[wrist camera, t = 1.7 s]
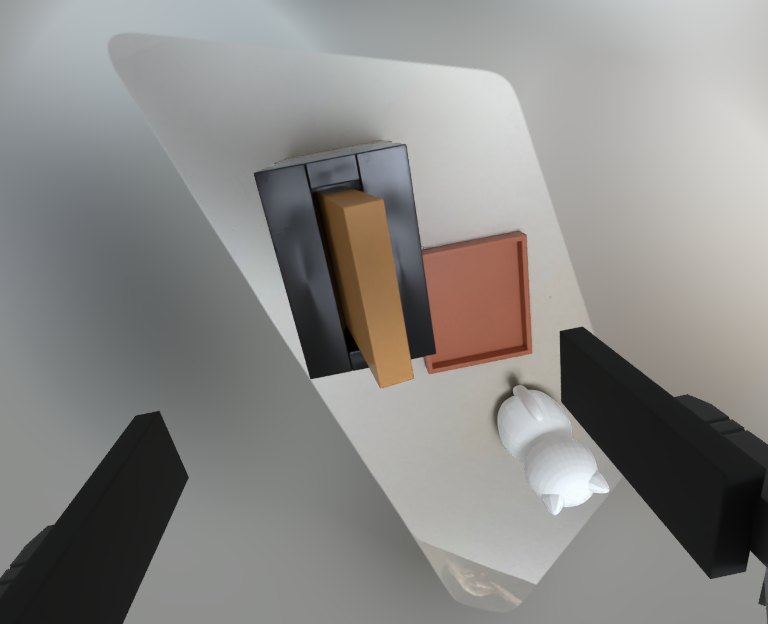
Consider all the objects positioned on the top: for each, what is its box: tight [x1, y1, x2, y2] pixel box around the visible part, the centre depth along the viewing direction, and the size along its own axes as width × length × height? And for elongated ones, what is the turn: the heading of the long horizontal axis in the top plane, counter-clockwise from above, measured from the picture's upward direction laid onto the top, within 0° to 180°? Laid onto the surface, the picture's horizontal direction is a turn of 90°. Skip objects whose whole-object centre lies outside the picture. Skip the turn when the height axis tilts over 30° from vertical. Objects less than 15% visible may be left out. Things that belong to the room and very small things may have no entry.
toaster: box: [254, 140, 436, 379], centre depth 38 cm, size 16×10×22 cm, turn 10°
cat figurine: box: [497, 385, 609, 515], centre depth 53 cm, size 9×12×15 cm
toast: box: [316, 185, 414, 388], centre depth 27 cm, size 10×2×10 cm, turn 10°
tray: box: [422, 231, 532, 374], centre depth 52 cm, size 15×13×2 cm
